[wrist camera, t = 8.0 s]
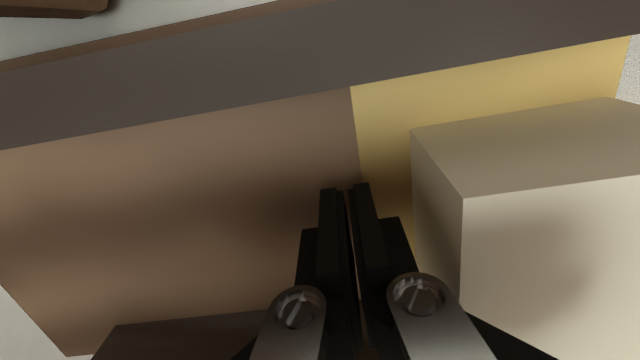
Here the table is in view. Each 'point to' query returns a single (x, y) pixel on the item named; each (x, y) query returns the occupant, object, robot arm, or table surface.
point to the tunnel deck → (250, 150)
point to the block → (51, 8)
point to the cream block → (537, 223)
